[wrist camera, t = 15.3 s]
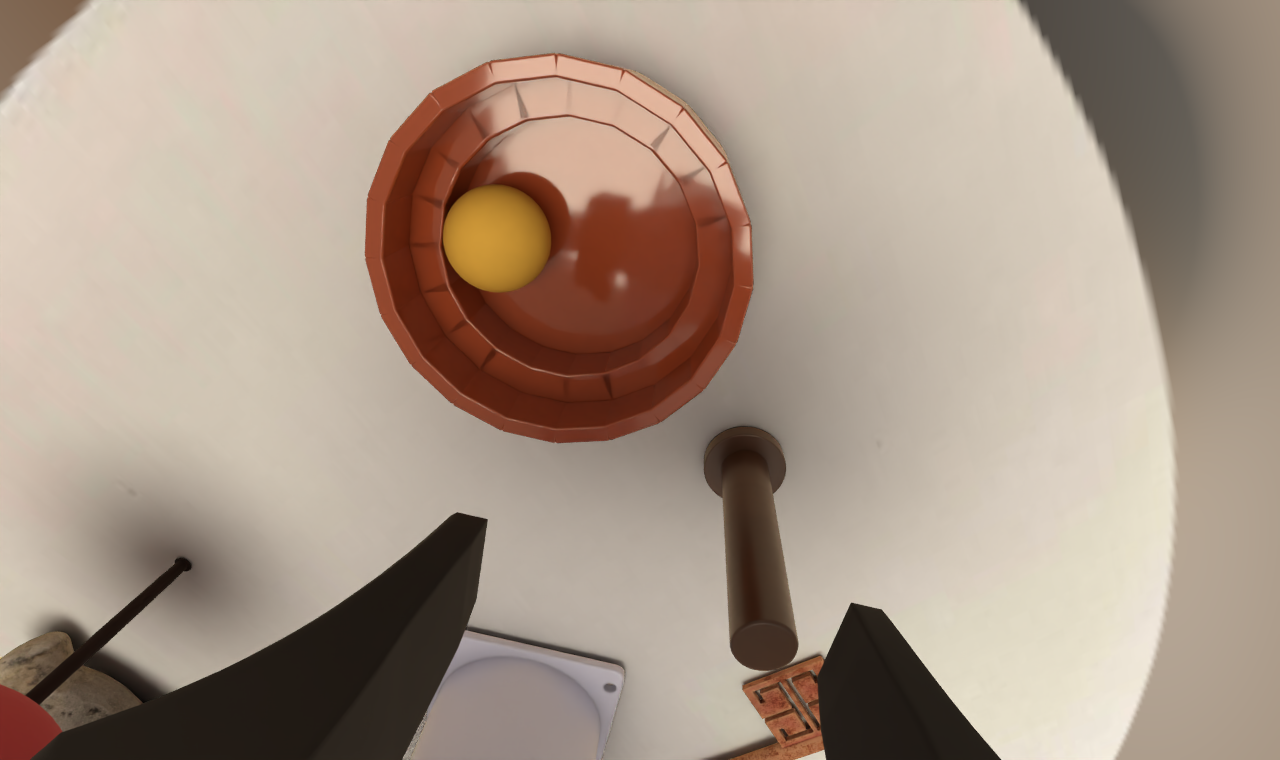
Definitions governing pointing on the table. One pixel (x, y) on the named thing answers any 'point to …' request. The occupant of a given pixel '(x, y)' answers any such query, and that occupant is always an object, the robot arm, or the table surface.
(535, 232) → the ball
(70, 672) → the lollipop
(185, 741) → the robot arm
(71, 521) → the table surface
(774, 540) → the stick
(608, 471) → the table surface
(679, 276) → the bowl
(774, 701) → the key
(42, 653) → the stone
